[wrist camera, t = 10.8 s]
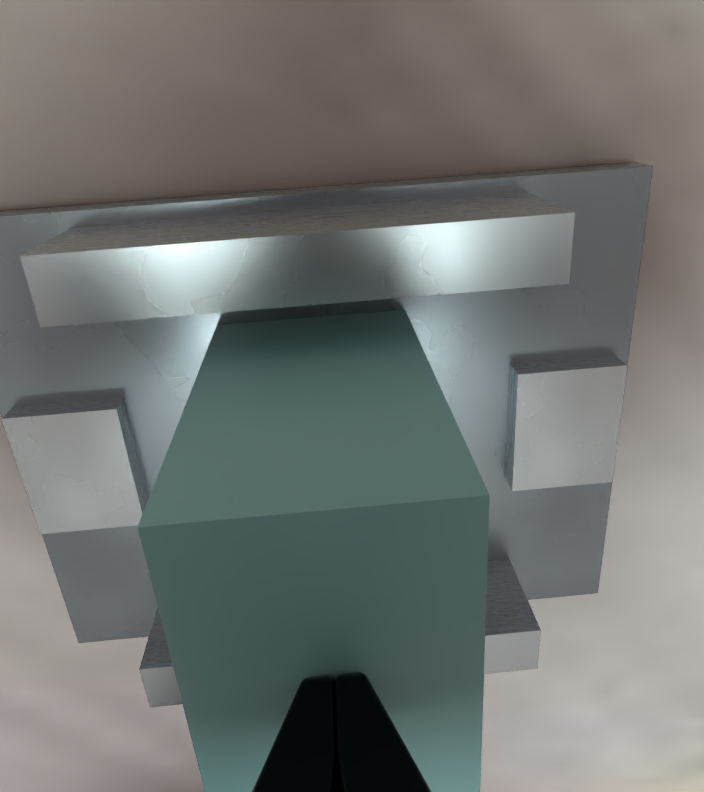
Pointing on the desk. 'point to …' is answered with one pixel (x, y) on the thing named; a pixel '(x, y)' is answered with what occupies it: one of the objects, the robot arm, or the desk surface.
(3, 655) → the desk surface
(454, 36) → the desk surface
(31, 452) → the plate
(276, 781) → the robot arm
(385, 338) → the block
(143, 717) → the desk surface
